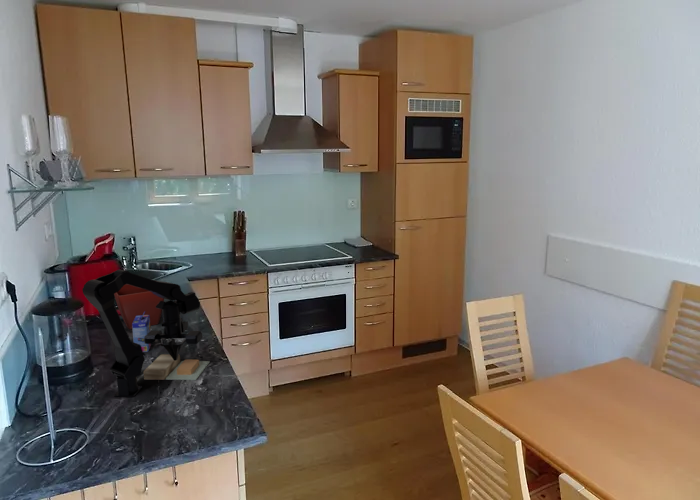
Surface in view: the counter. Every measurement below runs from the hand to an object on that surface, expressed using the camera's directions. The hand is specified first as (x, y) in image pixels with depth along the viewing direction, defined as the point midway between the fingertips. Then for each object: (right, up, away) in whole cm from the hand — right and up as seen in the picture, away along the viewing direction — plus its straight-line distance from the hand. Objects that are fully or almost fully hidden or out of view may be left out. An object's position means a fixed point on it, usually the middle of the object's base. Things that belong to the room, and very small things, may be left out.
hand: (175, 360), depth 172 cm
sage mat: (+4, -4, +1) cm, 6 cm away
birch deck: (-5, -4, +1) cm, 6 cm away
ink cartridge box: (-20, 0, +21) cm, 30 cm away
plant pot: (-33, +5, +50) cm, 60 cm away
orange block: (+4, -2, 0) cm, 5 cm away
